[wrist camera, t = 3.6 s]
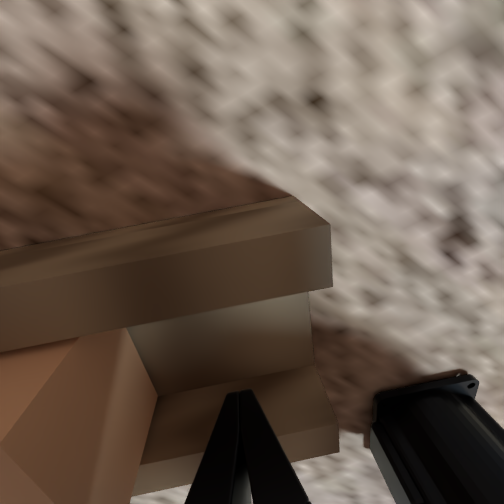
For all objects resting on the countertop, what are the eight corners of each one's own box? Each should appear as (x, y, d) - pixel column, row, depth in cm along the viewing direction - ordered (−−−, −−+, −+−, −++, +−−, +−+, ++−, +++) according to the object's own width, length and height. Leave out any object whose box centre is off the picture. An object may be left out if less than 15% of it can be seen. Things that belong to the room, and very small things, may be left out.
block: (111, 295, 10) (-2, 445, 5) (157, 395, 13) (113, 564, 8) (-15, 319, 10) (-258, 498, 5) (57, 416, 12) (-57, 601, 7)
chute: (293, 195, 10) (346, 236, 6) (311, 375, 15) (349, 479, 10) (-280, 303, 10) (-711, 440, 5) (-89, 457, 14) (-238, 606, 10)
